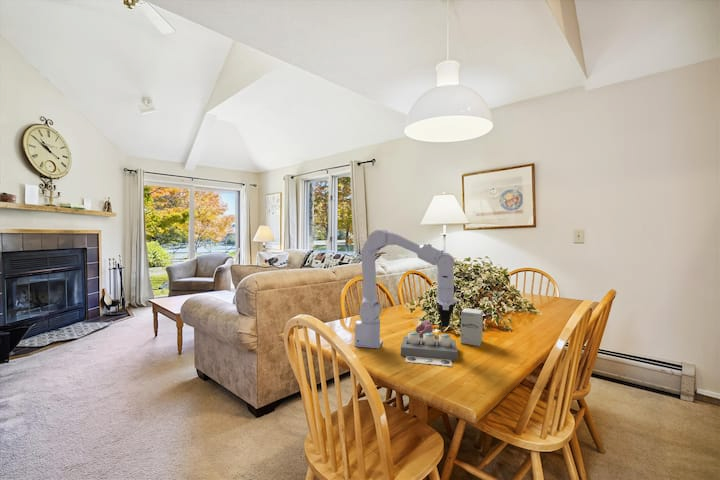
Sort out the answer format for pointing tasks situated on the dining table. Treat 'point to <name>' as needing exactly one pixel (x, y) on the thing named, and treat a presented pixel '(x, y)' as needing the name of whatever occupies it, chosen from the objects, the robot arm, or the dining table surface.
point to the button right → (444, 340)
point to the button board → (429, 350)
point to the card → (428, 361)
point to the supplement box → (471, 326)
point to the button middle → (428, 339)
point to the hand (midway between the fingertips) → (444, 325)
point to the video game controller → (424, 328)
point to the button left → (413, 338)
